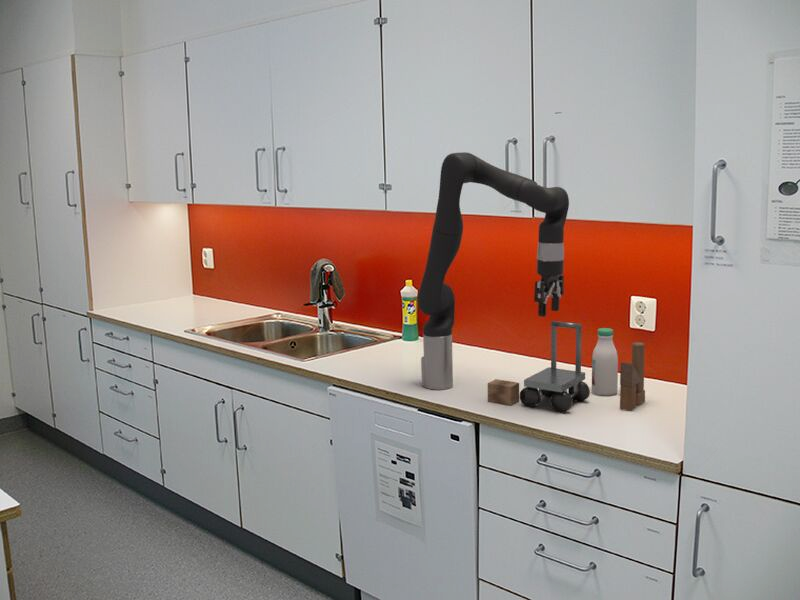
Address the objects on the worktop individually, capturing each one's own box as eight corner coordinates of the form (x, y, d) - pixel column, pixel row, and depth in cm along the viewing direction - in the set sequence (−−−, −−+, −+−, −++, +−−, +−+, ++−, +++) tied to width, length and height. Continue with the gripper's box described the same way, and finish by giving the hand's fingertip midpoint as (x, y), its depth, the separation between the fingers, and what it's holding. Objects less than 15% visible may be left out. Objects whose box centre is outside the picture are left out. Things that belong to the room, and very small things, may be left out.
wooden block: (619, 409, 245) (620, 348, 242) (633, 399, 254) (634, 341, 250) (631, 411, 243) (632, 350, 240) (645, 401, 251) (646, 342, 248)
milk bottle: (622, 392, 261) (623, 328, 258) (608, 397, 256) (609, 333, 253) (600, 387, 267) (601, 325, 263) (586, 393, 262) (587, 329, 258)
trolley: (518, 406, 250) (517, 329, 246) (542, 392, 263) (543, 319, 259) (568, 415, 241) (568, 335, 237) (591, 400, 254) (592, 324, 250)
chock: (487, 402, 256) (487, 383, 255) (496, 398, 260) (495, 379, 259) (511, 406, 251) (511, 386, 250) (519, 402, 255) (519, 382, 254)
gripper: (549, 253, 250) (547, 307, 253) (526, 260, 238) (525, 316, 242) (573, 255, 245) (571, 310, 249) (551, 262, 234) (549, 319, 237)
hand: (548, 313), depth 245 cm, fingers open, 8 cm apart
